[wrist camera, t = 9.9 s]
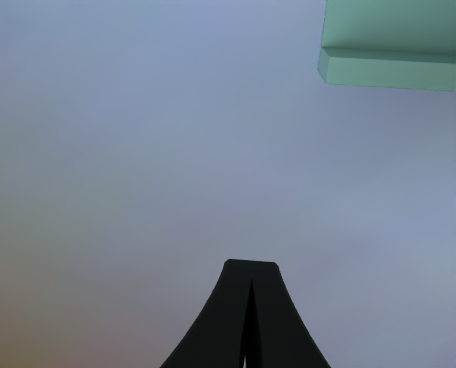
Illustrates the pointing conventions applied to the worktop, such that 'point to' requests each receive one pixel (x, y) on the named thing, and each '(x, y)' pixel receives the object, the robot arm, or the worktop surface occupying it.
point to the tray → (390, 44)
